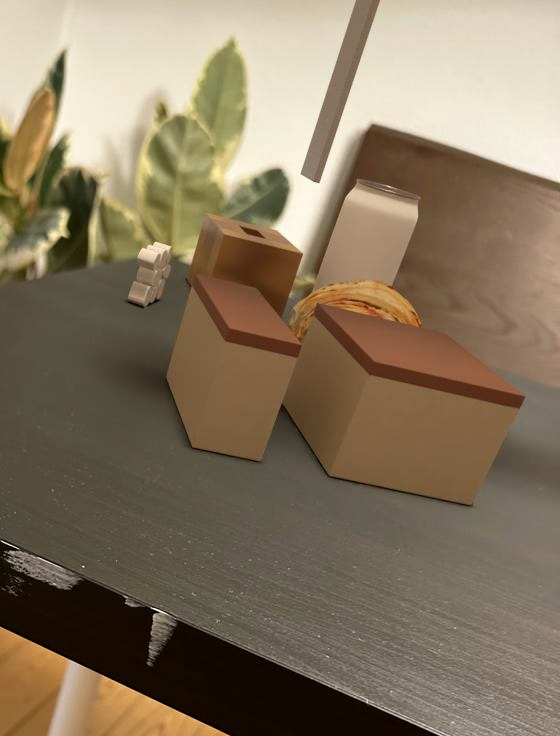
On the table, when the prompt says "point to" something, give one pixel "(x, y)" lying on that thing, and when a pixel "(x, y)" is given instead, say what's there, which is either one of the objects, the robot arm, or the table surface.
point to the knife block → (247, 258)
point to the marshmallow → (151, 273)
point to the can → (369, 235)
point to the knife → (339, 88)
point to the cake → (398, 405)
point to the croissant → (354, 304)
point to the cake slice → (230, 367)
